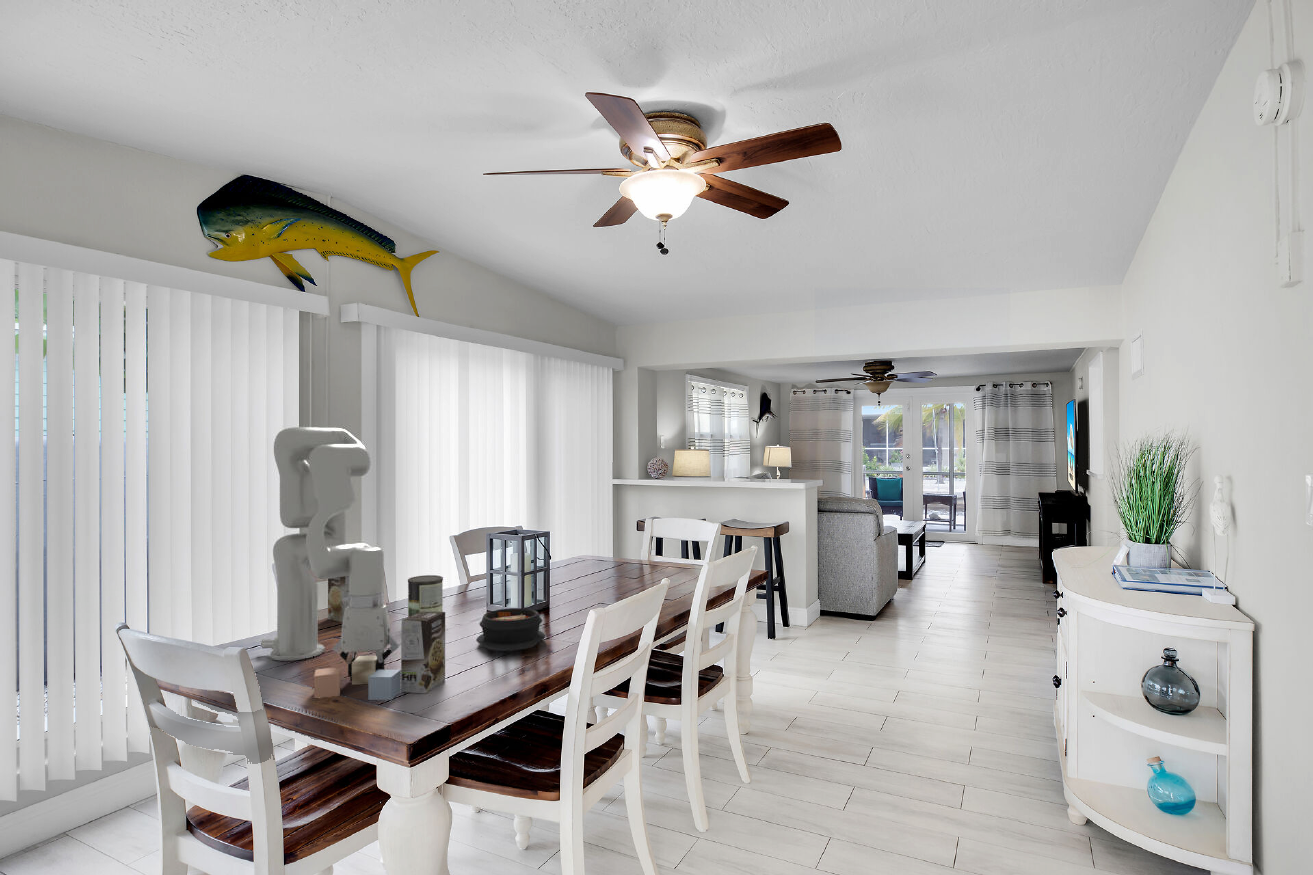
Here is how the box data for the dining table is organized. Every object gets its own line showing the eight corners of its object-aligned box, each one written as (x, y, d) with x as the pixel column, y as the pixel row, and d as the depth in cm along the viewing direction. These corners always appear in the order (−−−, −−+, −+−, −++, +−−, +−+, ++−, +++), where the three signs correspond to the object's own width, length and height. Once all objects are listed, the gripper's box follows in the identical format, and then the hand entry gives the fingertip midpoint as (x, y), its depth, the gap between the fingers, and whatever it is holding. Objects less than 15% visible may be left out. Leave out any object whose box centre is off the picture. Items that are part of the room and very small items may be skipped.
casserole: (477, 634, 204) (477, 605, 204) (542, 630, 208) (542, 602, 208) (474, 660, 179) (474, 627, 179) (548, 655, 183) (548, 622, 183)
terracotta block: (314, 699, 152) (314, 676, 152) (315, 691, 157) (315, 669, 157) (339, 696, 154) (339, 673, 154) (340, 688, 158) (340, 666, 158)
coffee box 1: (326, 619, 222) (326, 568, 223) (344, 615, 228) (344, 565, 228) (344, 622, 218) (344, 571, 218) (362, 618, 223) (362, 567, 223)
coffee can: (402, 628, 211) (402, 581, 211) (415, 619, 221) (415, 574, 221) (436, 628, 210) (436, 581, 211) (447, 620, 221) (447, 575, 221)
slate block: (368, 700, 151) (368, 676, 151) (378, 691, 156) (378, 669, 156) (391, 700, 151) (391, 676, 151) (400, 692, 156) (400, 669, 156)
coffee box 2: (426, 694, 155) (426, 620, 155) (399, 692, 156) (399, 619, 156) (446, 680, 163) (446, 611, 164) (421, 678, 165) (421, 609, 165)
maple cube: (351, 684, 161) (351, 662, 161) (358, 677, 166) (358, 656, 166) (374, 683, 162) (374, 661, 162) (380, 676, 167) (380, 655, 167)
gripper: (322, 605, 159) (322, 686, 159) (400, 603, 161) (400, 682, 161) (333, 598, 167) (333, 675, 166) (407, 596, 169) (407, 672, 169)
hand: (366, 678), depth 164 cm, fingers closed on maple cube, 5 cm apart
